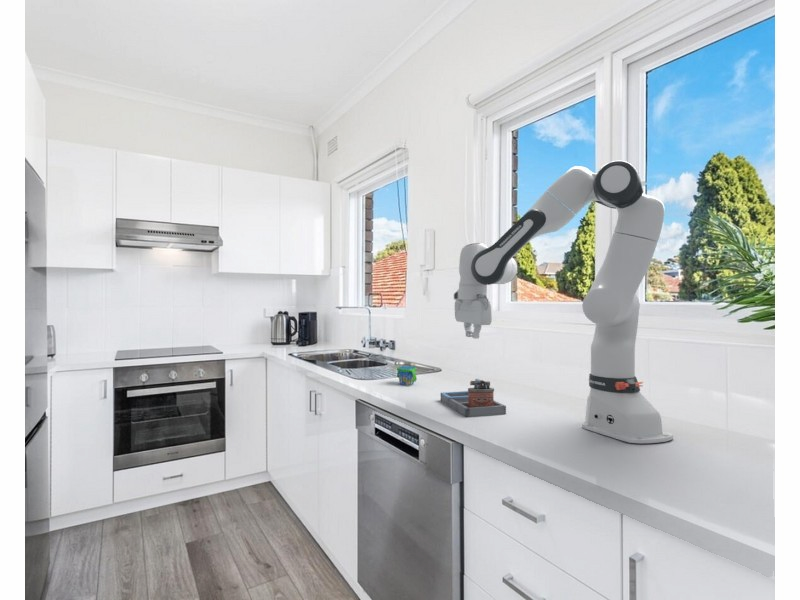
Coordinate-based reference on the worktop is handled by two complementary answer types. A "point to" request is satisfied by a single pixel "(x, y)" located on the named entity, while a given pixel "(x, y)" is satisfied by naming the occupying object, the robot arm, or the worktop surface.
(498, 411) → the divider tray
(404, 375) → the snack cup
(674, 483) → the worktop surface
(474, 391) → the lighter
